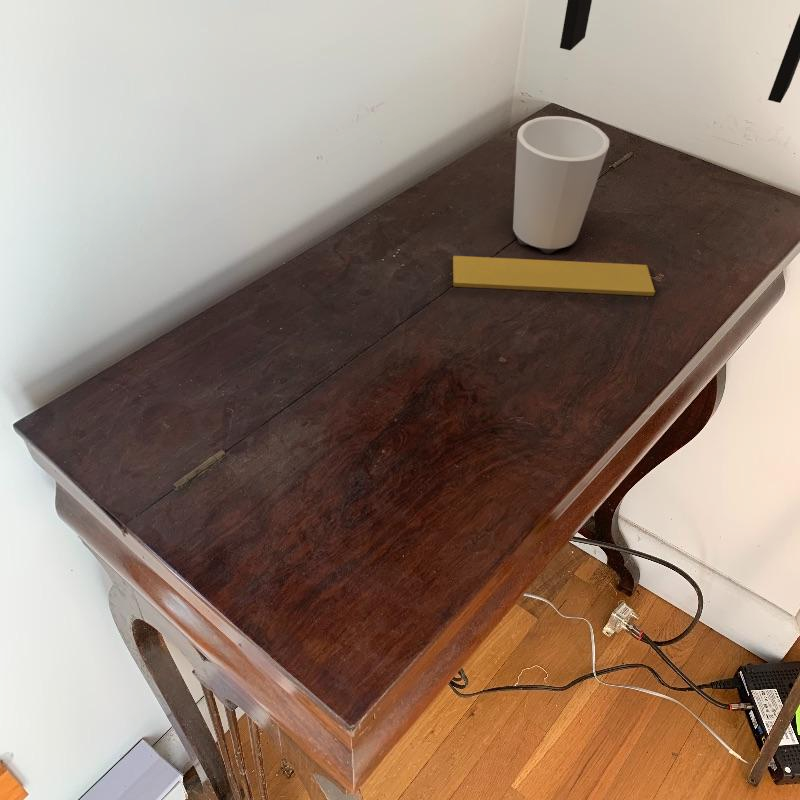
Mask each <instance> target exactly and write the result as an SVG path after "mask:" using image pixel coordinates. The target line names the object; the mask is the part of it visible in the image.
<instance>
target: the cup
mask: <svg viewBox="0 0 800 800" xmlns="http://www.w3.org/2000/svg"><path fill="white" fill-rule="evenodd" d="M516 135H517V136H516V151H515V153H516V154H515V173H514V174H515V176H514V197H513V217H512V218H513V219H512V230H513V232H514V235H515V237H516V239H517V242H518V244H520V245H521V246H531V247H534V248H536V249H539V250H540V251H541V252H542V253H544V254H552V253H554V252H556V251H558V250H560V249H563V248H571V247H572V246H574V244H575V243H576V241H577V239H578V237H579V234H580V231H581V228H582V226H583V222H584V220H585V217H586V214H587V212H588V208H589V205H590V203H591V199H592V196H593V194H594V191H595V188H596V185H597V182H598V179H599V177H600V174H601V170H602V168H603V165H604V162H605V159H606V156H607V153H608V150H609V148H610V138H609V137H608V136H607V134H606V132H604V131H603V130H602V129H601V128H599V127H598V126H596V125H594V124H592V123H590V122H588V121H586V120H583V119H580V118H575V117H570V116H561V115H548V116H547V115H546V116H540V117H539V116H538V117H536V118H535V117H534V118H533V119H530V120H528V121H526V122H525V123H523V124H522V125H520V127H519V129H518V130H517V134H516Z"/></svg>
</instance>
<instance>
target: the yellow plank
mask: <svg viewBox="0 0 800 800" xmlns="http://www.w3.org/2000/svg"><path fill="white" fill-rule="evenodd" d="M452 276H453V277H452V284H453V288H471V289H472V288H475V289H494V290H495V289H496V290H514V291H515V290H517V291H540V292H559V293H560V292H561V293H578V294H598V295H599V294H603V295H623V296H640V297H641V296H642V297H654V296H655V294H656V289H655V288H654V284H653V281H652V277H651V273H650V269H649V267H648V265H647V264H637V263H636V264H634V263H617V262H616V263H615V262H613V263H612V262H593V261H572V260H552V259H529V258H509V257H486V256H470V255H469V256H466V255H453V256H452Z"/></svg>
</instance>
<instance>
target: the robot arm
mask: <svg viewBox="0 0 800 800" xmlns="http://www.w3.org/2000/svg"><path fill="white" fill-rule="evenodd" d="M566 2H567V3H566V8H565V14H564V21H563V26H562V32H561V38H560V44H559V49H562V50H566V51H572V50H573V49H574V48H575V47H576V46H577V45H578V44H579V43H580V42H582V41H583V40H584V39H585V38H586V33H587V28H588V23H589V18H590V14H591V8H592V3H593V0H567V1H566ZM799 64H800V13H799V14H798V17H797V20H796V22H795V24H794V28H793V31H792V33H791V36H790V38H789V41H788V44H787V47H786V50H785V52H784V55H783V57H782V59H781V62H780V66H779V68H778V71H777V73H776V76H775V78H774V81H773V84H772V87H771V90H770V92H769V95H768V98H767V101H770V102H775V103H778V104H781V103H782V101H783V100H784V97H785V95H786V94H787V92H788V90H789V88H790V86H791V84H792V81H793V78H794V76H795V74H796V70H797V68H798V65H799Z"/></svg>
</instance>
